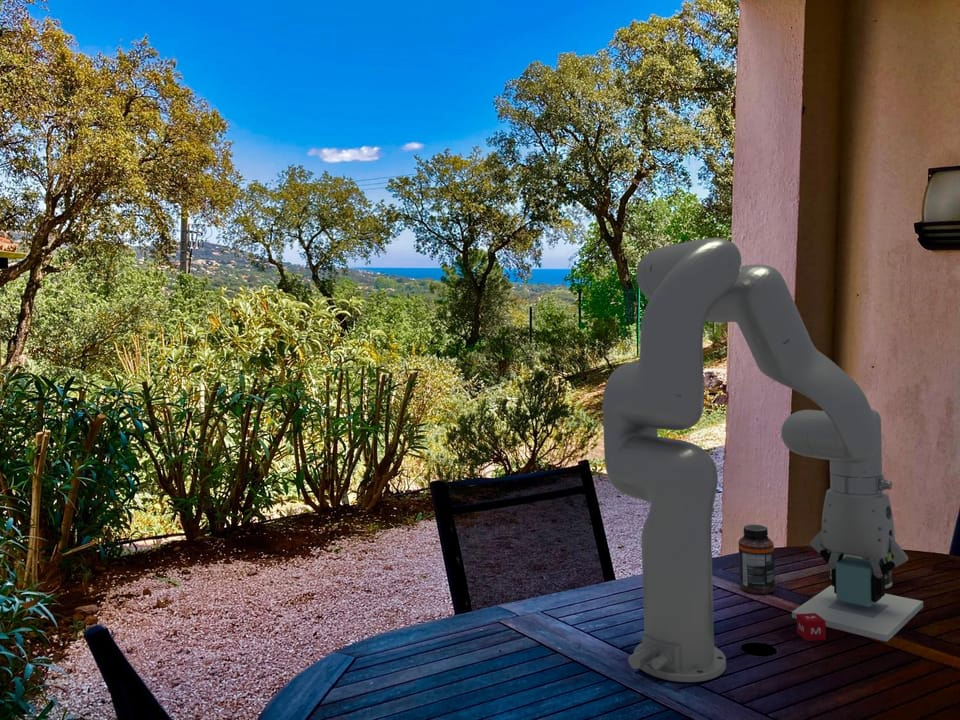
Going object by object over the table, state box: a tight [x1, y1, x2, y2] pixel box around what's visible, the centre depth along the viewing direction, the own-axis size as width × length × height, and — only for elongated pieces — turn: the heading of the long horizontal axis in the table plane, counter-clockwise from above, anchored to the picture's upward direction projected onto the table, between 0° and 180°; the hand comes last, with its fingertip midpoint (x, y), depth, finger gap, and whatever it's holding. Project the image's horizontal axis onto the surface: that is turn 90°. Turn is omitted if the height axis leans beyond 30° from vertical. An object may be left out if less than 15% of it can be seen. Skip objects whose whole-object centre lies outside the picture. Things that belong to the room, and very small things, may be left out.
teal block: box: [836, 556, 875, 607], centre depth 120 cm, size 5×5×6 cm
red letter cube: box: [796, 613, 827, 642], centre depth 111 cm, size 3×3×3 cm
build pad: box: [791, 584, 924, 643], centre depth 120 cm, size 18×14×1 cm
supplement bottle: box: [738, 524, 776, 595], centre depth 132 cm, size 6×6×11 cm
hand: (857, 594), depth 120 cm, fingers closed on teal block, 5 cm apart
